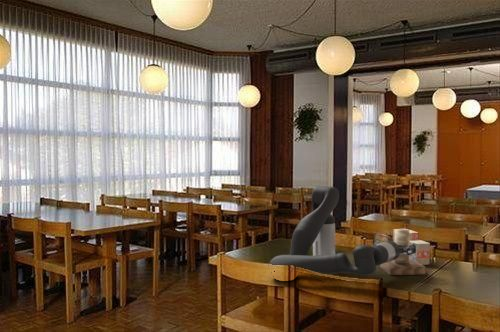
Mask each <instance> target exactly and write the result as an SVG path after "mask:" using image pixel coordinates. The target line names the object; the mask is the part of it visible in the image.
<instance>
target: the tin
mask: <svg viewBox="0 0 500 332" xmlns="http://www.w3.org/2000/svg"><path fill="white" fill-rule="evenodd" d="M386 241H393V237H391V236H390V235H386V234H383V233H377V232H376V233H375V234H374V235H373V238H372V247H373V246H376V245H377V244H379V243H382V242H386Z"/></svg>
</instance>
